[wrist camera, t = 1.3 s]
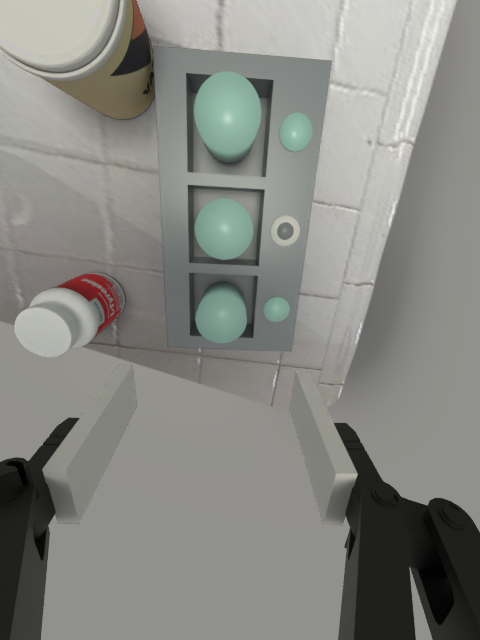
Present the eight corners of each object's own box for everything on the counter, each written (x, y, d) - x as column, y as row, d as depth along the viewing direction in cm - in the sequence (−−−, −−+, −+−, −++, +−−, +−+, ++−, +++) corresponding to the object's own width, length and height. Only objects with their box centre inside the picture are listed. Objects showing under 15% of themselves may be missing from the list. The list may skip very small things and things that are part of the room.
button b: (201, 250, 28) (195, 258, 23) (201, 199, 26) (194, 196, 22) (247, 252, 28) (251, 261, 24) (251, 202, 26) (255, 200, 22)
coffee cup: (175, 124, 27) (137, 63, 16) (82, 134, 27) (-22, 80, 16) (156, -3, 24) (90, -194, 13) (49, 8, 24) (-111, -172, 13)
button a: (201, 322, 31) (195, 342, 26) (201, 281, 29) (195, 294, 25) (243, 324, 31) (245, 344, 27) (246, 283, 29) (248, 296, 25)
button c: (201, 161, 25) (194, 149, 20) (201, 96, 23) (193, 68, 19) (253, 164, 25) (258, 154, 21) (257, 100, 24) (263, 74, 19)
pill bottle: (136, 304, 34) (95, 344, 24) (98, 328, 35) (43, 376, 25) (102, 260, 32) (41, 284, 22) (63, 287, 33) (-13, 322, 23)
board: (176, 329, 35) (167, 348, 30) (167, 75, 26) (152, 43, 21) (283, 333, 36) (291, 352, 31) (314, 87, 26) (332, 59, 22)
